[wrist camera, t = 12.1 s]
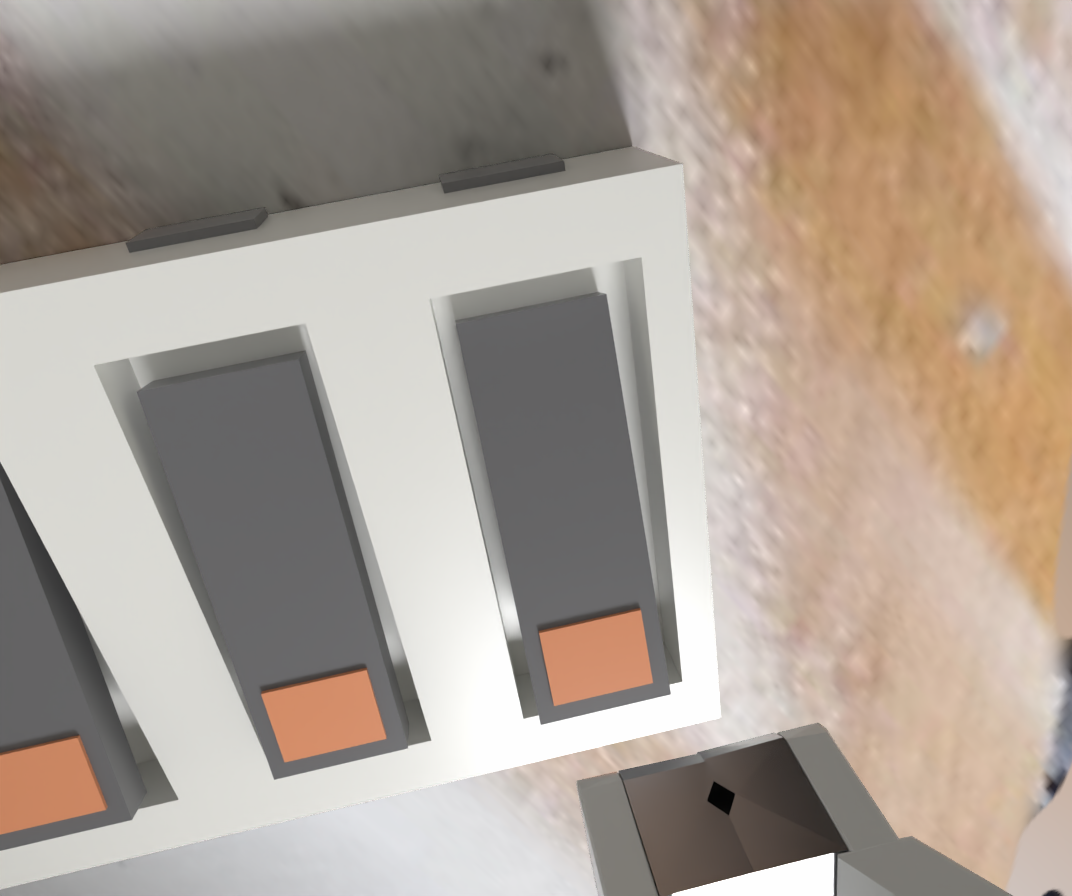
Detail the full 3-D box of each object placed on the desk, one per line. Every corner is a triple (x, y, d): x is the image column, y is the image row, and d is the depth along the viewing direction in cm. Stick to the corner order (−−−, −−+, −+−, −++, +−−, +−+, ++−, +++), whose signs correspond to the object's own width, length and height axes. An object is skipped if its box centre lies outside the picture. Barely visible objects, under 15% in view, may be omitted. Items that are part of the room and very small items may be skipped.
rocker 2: (660, 673, 25) (672, 696, 24) (536, 703, 25) (541, 727, 23) (597, 291, 22) (607, 294, 21) (455, 320, 22) (455, 324, 20)
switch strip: (679, 632, 31) (720, 717, 27) (51, 777, 29) (-5, 890, 25) (631, 137, 23) (681, 152, 19) (-246, 300, 21) (-399, 356, 17)
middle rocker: (408, 723, 25) (407, 751, 23) (281, 752, 24) (273, 782, 23) (305, 350, 21) (298, 360, 20) (152, 381, 21) (135, 393, 19)
